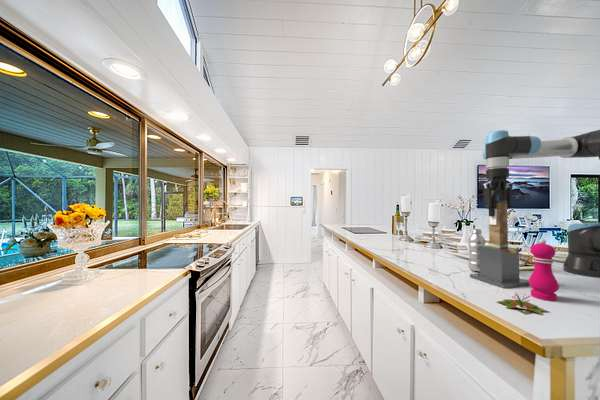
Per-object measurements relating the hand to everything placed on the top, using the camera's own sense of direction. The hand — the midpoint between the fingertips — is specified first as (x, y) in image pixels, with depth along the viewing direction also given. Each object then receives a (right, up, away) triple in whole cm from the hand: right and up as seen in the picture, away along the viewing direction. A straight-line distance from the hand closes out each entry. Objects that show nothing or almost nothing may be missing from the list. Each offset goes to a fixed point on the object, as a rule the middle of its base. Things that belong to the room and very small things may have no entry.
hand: (498, 224), depth 100 cm
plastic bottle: (+2, -24, +14) cm, 28 cm away
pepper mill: (+1, -24, -18) cm, 29 cm away
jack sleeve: (0, -24, 0) cm, 24 cm away
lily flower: (-14, -24, -25) cm, 37 cm away
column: (0, -15, 0) cm, 15 cm away
